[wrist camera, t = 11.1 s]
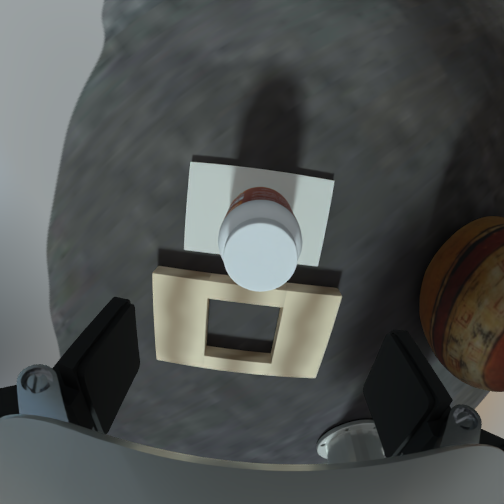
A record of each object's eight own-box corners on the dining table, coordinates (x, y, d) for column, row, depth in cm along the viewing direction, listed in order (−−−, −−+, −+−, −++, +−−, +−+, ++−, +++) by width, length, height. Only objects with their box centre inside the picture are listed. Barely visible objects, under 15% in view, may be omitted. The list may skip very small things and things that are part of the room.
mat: (333, 180, 28) (334, 181, 27) (316, 264, 31) (317, 266, 30) (191, 161, 27) (190, 161, 27) (185, 247, 30) (183, 249, 30)
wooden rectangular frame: (337, 287, 32) (341, 296, 30) (313, 367, 36) (315, 378, 34) (158, 265, 31) (152, 273, 29) (160, 349, 35) (156, 359, 33)
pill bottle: (235, 179, 27) (220, 198, 17) (298, 193, 28) (322, 221, 17) (222, 240, 29) (203, 291, 19) (282, 253, 30) (294, 310, 19)
